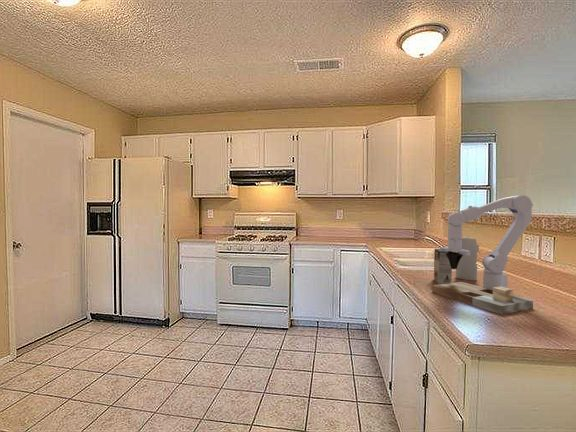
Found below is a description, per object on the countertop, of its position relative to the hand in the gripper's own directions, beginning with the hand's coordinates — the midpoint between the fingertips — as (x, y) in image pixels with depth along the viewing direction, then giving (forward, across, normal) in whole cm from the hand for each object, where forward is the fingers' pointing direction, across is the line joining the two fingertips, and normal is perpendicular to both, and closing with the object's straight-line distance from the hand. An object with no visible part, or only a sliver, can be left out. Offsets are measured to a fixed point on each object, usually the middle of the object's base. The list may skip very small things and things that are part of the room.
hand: (453, 268), depth 142 cm
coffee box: (+10, -12, +7) cm, 17 cm away
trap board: (+9, +15, -4) cm, 18 cm away
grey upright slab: (+10, -12, +24) cm, 28 cm away
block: (+6, +24, -4) cm, 26 cm away
